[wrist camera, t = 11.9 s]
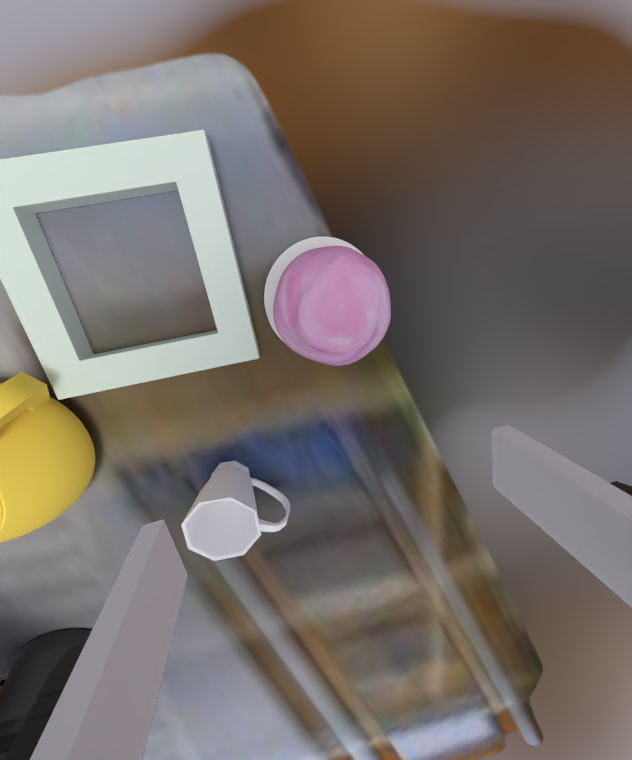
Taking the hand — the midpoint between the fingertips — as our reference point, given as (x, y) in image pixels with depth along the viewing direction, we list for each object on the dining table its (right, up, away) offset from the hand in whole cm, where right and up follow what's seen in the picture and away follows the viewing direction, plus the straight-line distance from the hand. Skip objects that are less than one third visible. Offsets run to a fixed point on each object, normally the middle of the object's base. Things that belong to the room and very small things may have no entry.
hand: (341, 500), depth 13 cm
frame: (-17, +14, +16) cm, 27 cm away
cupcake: (-1, +12, +18) cm, 22 cm away
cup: (-9, -6, +24) cm, 27 cm away
